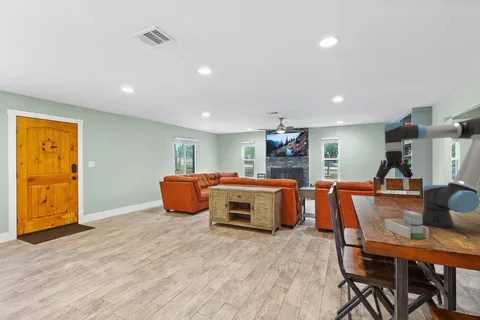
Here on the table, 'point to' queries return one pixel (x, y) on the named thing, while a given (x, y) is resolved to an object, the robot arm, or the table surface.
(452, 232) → the table surface
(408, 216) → the ink box
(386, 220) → the white u-shaped frame
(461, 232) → the table surface
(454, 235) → the table surface
